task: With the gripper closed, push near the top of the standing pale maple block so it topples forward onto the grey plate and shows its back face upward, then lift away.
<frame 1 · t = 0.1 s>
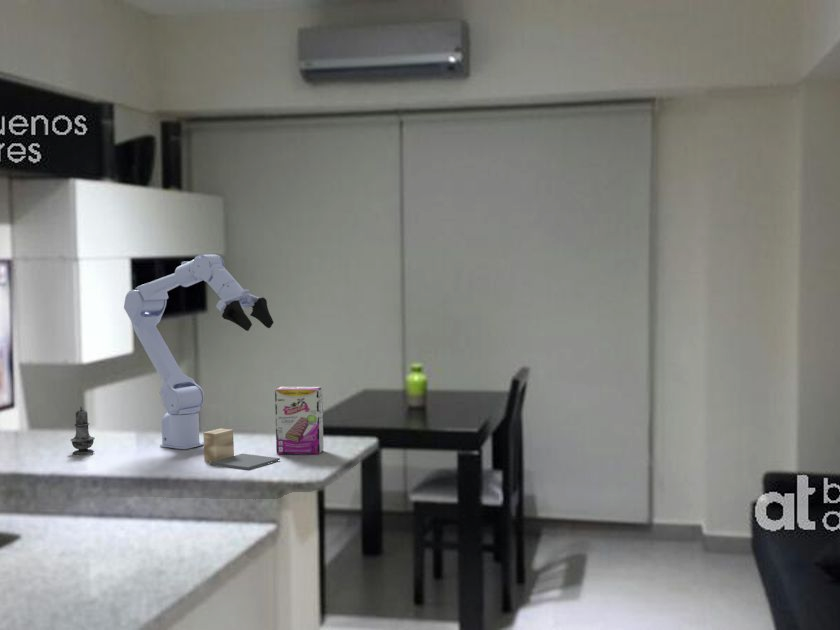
hand: (260, 326, 230), 32 cm above the counter, tool tilted 50°, fingers open, 7 cm apart
maple block: (219, 459, 230), on the counter
candy bar box: (300, 453, 236), on the counter
salt shaker: (83, 453, 242), on the counter
grey plate: (245, 462, 225), on the counter
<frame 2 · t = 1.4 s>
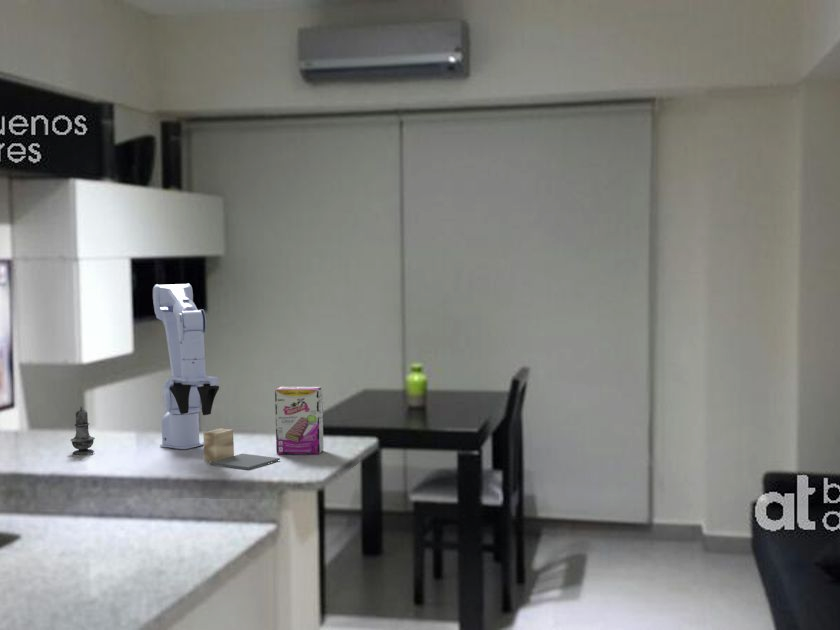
hand: (195, 414, 233), 11 cm above the counter, tool pointing down, fingers open, 7 cm apart
nothing on the counter moved.
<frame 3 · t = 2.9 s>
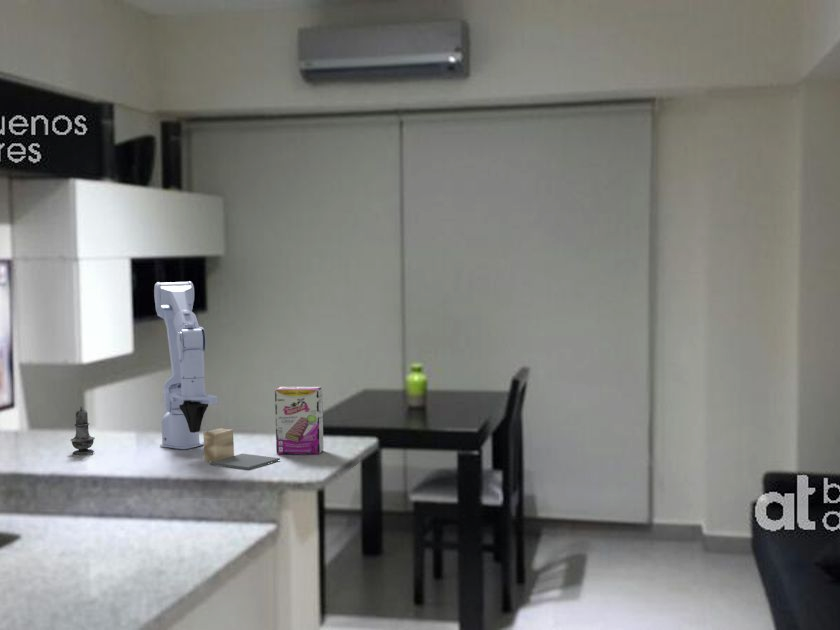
hand: (194, 431, 234), 6 cm above the counter, tool pointing down, fingers closed
nothing on the counter moved.
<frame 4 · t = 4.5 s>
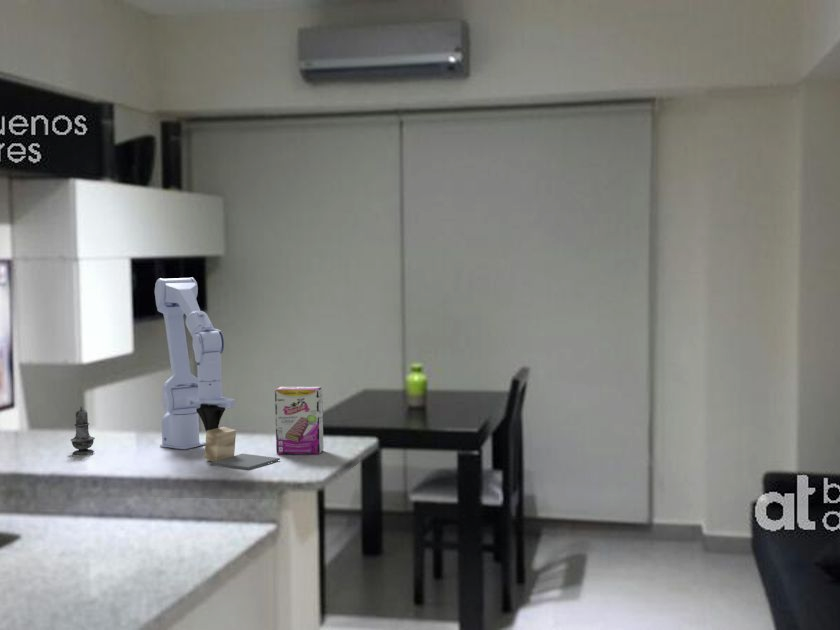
hand: (211, 435, 231), 6 cm above the counter, tool pointing down, fingers closed
maple block: (219, 458, 230), on the counter, tilted 8°
everything else where it was.
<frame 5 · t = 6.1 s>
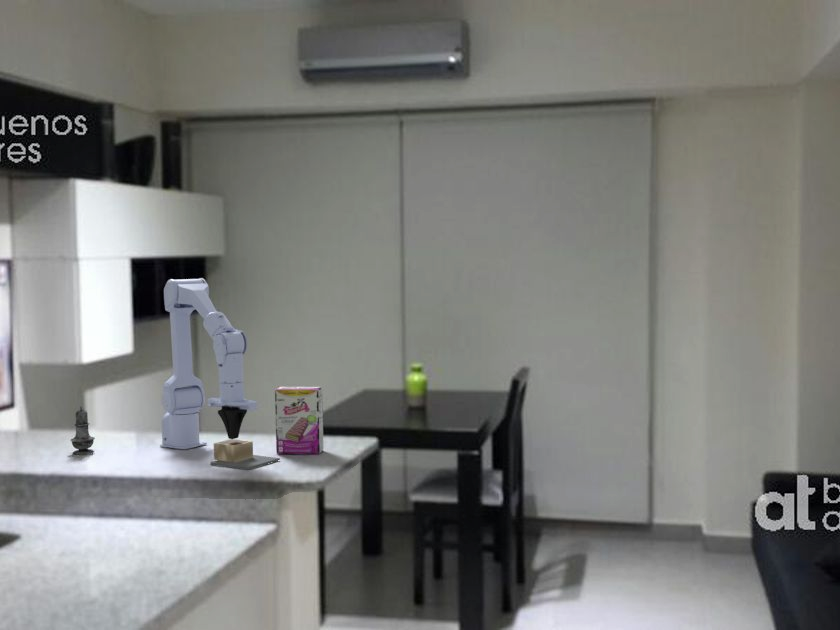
hand: (233, 438, 227), 6 cm above the counter, tool pointing down, fingers closed
maple block: (222, 449, 229), point 3 cm above the counter, tilted 90°, touching grey plate
everything else where it was.
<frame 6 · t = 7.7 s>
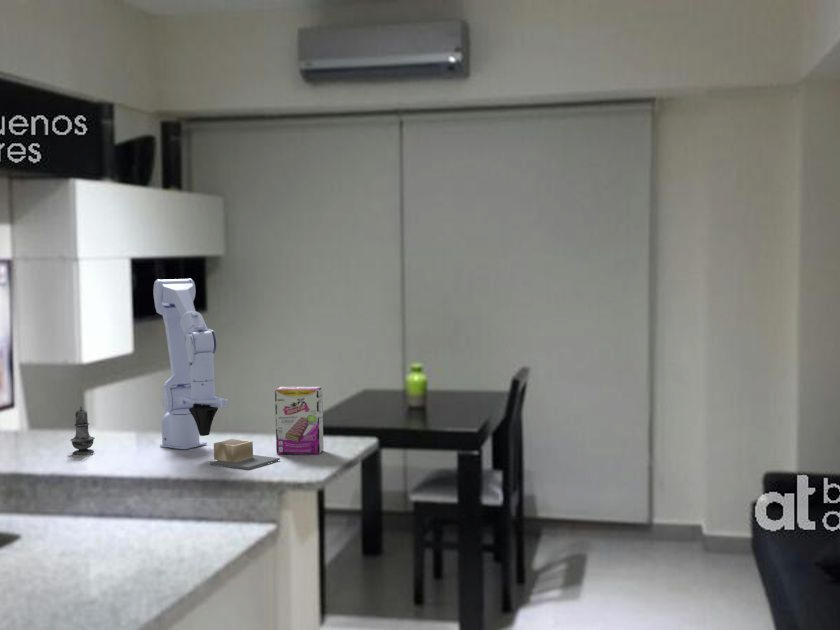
hand: (204, 435, 232), 6 cm above the counter, tool pointing down, fingers closed
nothing on the counter moved.
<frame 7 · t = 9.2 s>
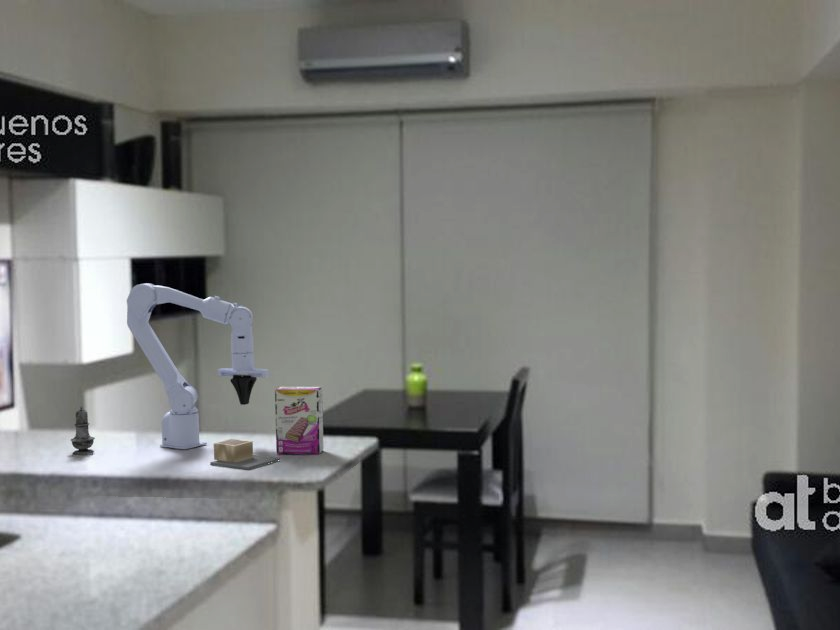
hand: (244, 404, 249), 10 cm above the counter, tool pointing down, fingers closed
nothing on the counter moved.
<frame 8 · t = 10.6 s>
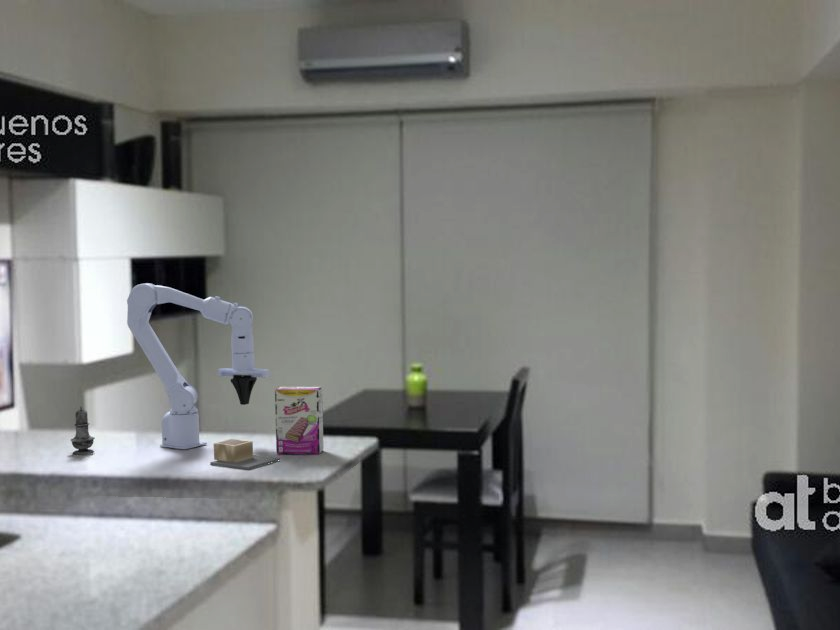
hand: (244, 404, 249), 10 cm above the counter, tool pointing down, fingers closed
nothing on the counter moved.
at the end: maple block tilted 90°; maple block touching grey plate; the gripper is holding nothing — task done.
